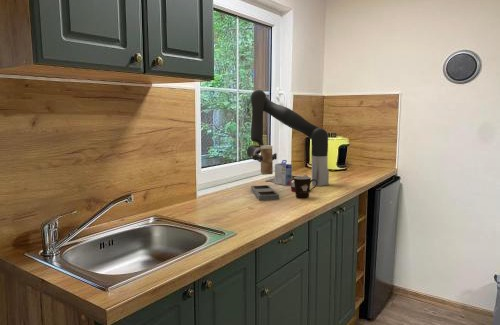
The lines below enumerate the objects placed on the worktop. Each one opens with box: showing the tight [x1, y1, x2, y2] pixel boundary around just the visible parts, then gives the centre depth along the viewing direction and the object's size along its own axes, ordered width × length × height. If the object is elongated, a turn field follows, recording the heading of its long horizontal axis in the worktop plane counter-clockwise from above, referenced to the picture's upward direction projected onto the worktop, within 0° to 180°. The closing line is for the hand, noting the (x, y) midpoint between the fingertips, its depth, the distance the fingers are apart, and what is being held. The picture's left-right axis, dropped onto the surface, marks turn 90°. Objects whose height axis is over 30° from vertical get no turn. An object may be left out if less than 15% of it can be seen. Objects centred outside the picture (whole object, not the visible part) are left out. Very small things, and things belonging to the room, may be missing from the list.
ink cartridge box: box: [274, 159, 293, 186], centre depth 223 cm, size 10×6×14 cm, turn 39°
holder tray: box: [250, 184, 280, 202], centre depth 195 cm, size 10×26×2 cm, turn 9°
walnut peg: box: [260, 144, 274, 176], centre depth 185 cm, size 5×5×14 cm
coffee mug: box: [293, 175, 318, 200], centre depth 187 cm, size 12×9×10 cm
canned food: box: [290, 174, 309, 193], centre depth 203 cm, size 11×10×10 cm
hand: (267, 158), depth 182 cm, fingers closed on walnut peg, 5 cm apart
